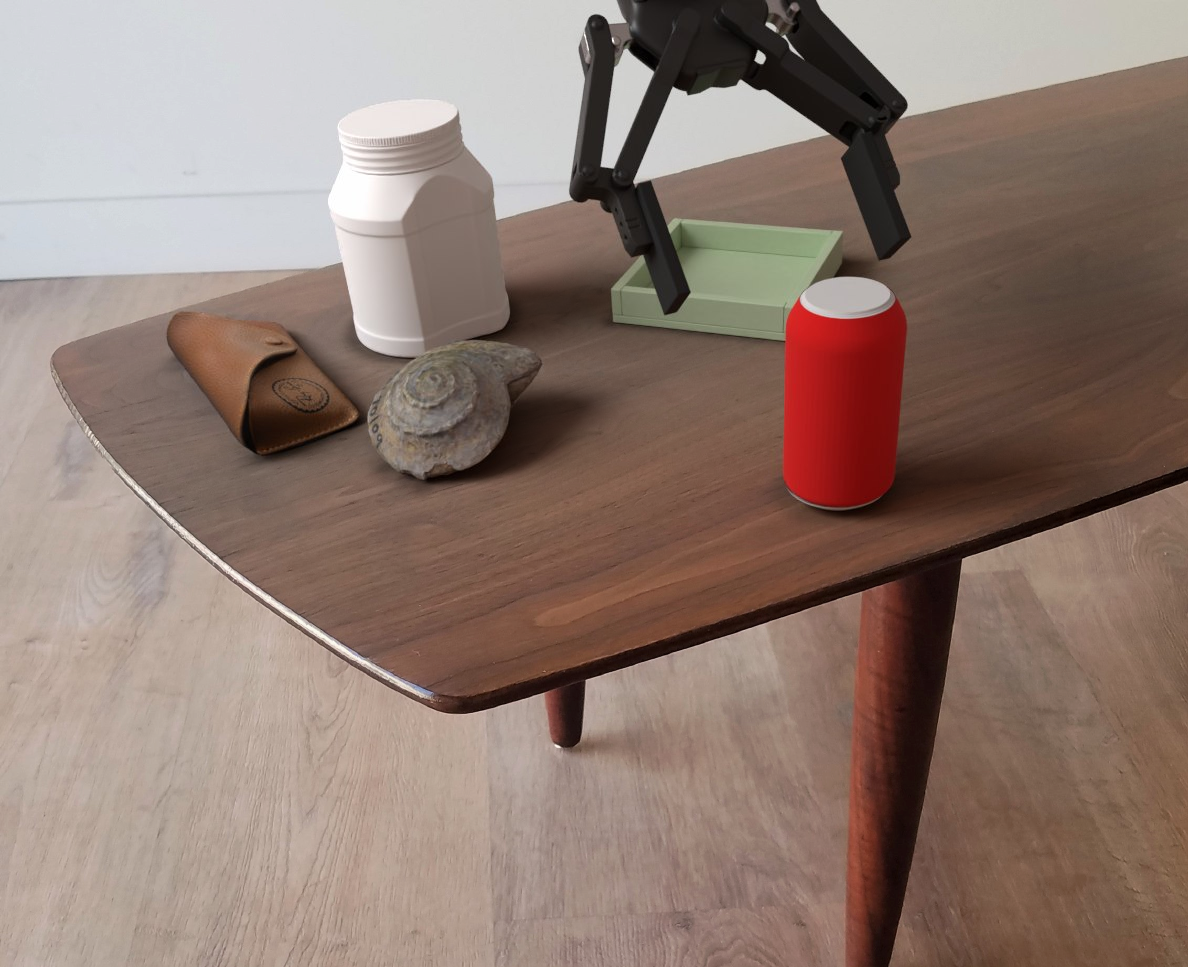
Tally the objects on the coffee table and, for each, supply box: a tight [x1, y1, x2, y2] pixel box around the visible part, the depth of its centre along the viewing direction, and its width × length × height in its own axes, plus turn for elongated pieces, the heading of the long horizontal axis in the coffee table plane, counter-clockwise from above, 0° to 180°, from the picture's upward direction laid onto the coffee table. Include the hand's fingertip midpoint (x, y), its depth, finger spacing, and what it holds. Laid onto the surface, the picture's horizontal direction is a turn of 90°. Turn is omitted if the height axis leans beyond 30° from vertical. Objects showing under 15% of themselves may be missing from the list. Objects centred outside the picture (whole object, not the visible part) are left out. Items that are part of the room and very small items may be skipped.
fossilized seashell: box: [367, 339, 543, 481], centre depth 77 cm, size 11×11×7 cm
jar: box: [327, 98, 511, 359], centre depth 87 cm, size 12×10×15 cm
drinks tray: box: [610, 217, 844, 342], centre depth 91 cm, size 14×14×3 cm
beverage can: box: [782, 276, 908, 512], centre depth 66 cm, size 6×6×12 cm
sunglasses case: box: [165, 310, 361, 457], centre depth 84 cm, size 18×7×7 cm
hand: (789, 276), depth 68 cm, fingers open, 13 cm apart
